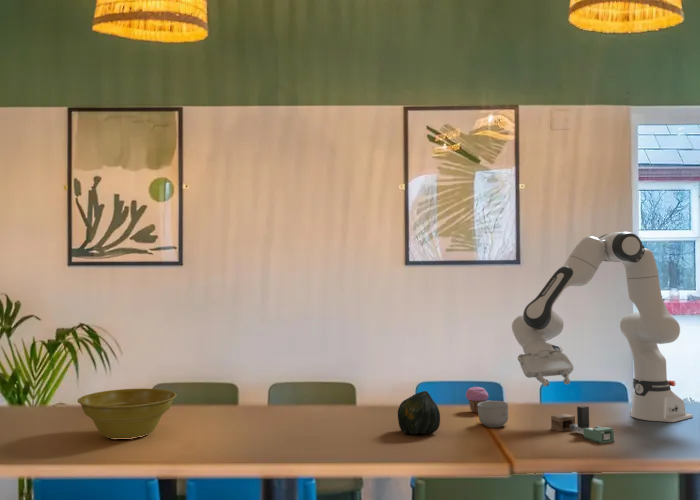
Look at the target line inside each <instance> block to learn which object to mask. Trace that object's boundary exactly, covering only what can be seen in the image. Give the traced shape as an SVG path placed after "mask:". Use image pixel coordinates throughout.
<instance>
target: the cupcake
mask: <svg viewBox="0 0 700 500" xmlns="http://www.w3.org/2000/svg"><path fill="white" fill-rule="evenodd" d="M465 398H466V399H467V400H468V402H469V403H468V404H469V410H470V411H471V412H472V413H475V414H478V406H477V404H478V403H480V402H484V401H488V400H489V393H488V391H487V390H486V389H485V388H484V387H480V386H472V387H469V388H468V389H467V390H466V393H465Z"/></svg>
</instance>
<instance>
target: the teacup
mask: <svg viewBox="0 0 700 500" xmlns="http://www.w3.org/2000/svg"><path fill="white" fill-rule="evenodd" d="M477 406H478V413H477V414H478V419H479V422H480V423H481V424H482V425H484V426H485V427H486V428H501V427H504V426H505V424H507V423H508V420H509V403H508V402H505V401H502V400H489V399H487V400H486V401H484V402H480V403H478V404H477Z"/></svg>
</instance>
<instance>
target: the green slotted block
mask: <svg viewBox="0 0 700 500" xmlns="http://www.w3.org/2000/svg"><path fill="white" fill-rule="evenodd" d="M589 428H590V427H589ZM589 428H584V434H583V439H584V440H588V441H591V442H594V443H597V444H606V443H607V444H608V443H613V442H615V430H614V429H613V428H611V427H608V426H605V427H602V426H598V425H597V426H595V428H593V430H592V429H589ZM602 432H607V433H610V439H608V440H602Z"/></svg>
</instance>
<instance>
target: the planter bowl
mask: <svg viewBox="0 0 700 500" xmlns="http://www.w3.org/2000/svg"><path fill="white" fill-rule="evenodd" d="M176 397H177V393H176V392H174V391H171V390H167V389H163V388H161V389H160V388H125V389H124V388H121V389H114V390H113V389H112V390H111V389H110V390H104V391H99V392H94V393H90V394H86V395H83V396H81V397H79V398H78V399H77V403H78V404H79V405H81V409H82V412H83V413H84V415H86V416H87V417H89V418H90V419H91V420H92V422H93V424H94V426H95V427H96V429H97V431H98V432H99V434H101V436H103V437H105V438H106V437H109V438H132V437H138V436H143V435H146V434H149V435H150V434H151V433H152V432H153V431H155V429H156V428H157V426H158V424H159V423H160V421H161V418H162V416H163V415H164V414H165V413H166V412H167V411H168V410H170V408H171V405H172V404H173V401H174V399H175V398H176Z"/></svg>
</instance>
